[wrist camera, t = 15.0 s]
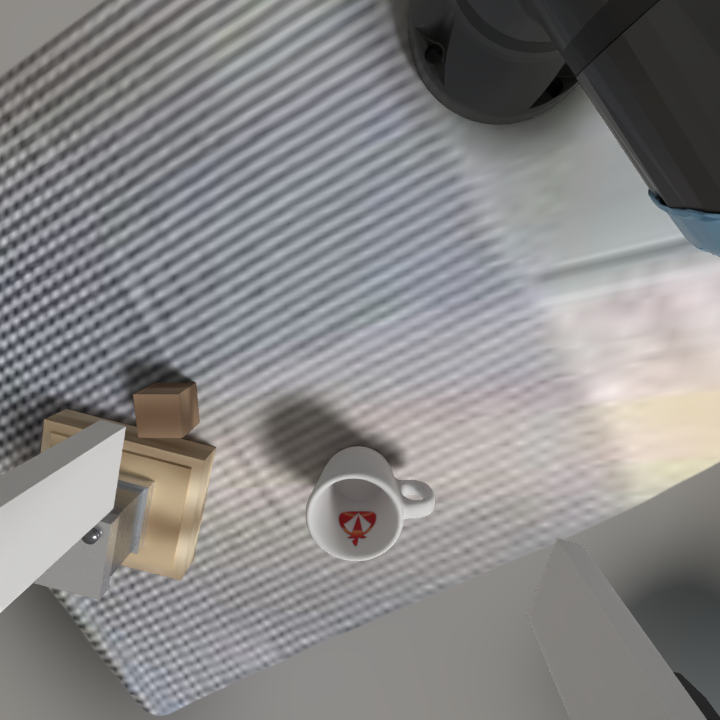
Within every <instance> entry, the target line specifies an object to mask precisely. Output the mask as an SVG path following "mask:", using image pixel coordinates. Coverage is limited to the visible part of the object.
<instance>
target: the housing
mask: <svg viewBox="0 0 720 720" xmlns="http://www.w3.org/2000/svg"><path fill="white" fill-rule="evenodd" d="M154 485H155V481H152V480H148V479H145V478H141V477H137V476H133V475H129V474H125V473H121V472H119V475H118V482H117V488H116V495H115V501H114V508H113V509H112V510H111V511H110V512H109V513H108V514H107V515H106V516H105V517H104V518H103V519H102V520H100V521H99V522H98V523H97V524H96V525H95V526H94V527H93V528H92V529H91V530H90V531H89V532H87V533H86V534H85V535H84V536H83V537H82V538H81V539H80V540H79V541H78V542H77V543H76V544H74V545H73V546H72V547H71V548H70V549H69V550H68V551H67V552H66V553H65V554H64V555H62V556H61V557H60V558H59V559H58V560H57V561H56V562H55V563H54V564H53V565H52V566H51V567H49V568H48V569H47V570H46V571H45V572H44V573H43V574H42V575H41V576H40V577H39V578H37V579H36V580H35V581H34V582H33V583H35V584H39V585H44V586H47V587H51V588H55V589H59V590H63V591H67V592H71V593H75V594H78V595H82V596H86V597H90V598H94V599H98V600H99V599H100V598H101V597H102V596H103V595H104V593H105V592H106V591H107V590H108V586H109V580H110V576H111V575H112V574H113V573H114V572H115V571H116V569H117V568H118V567H119V566H120V565H121V564H122V562H123V561H124V560H125V559H126V558H127V557H128V555H129V554H130V553H134V554H138V553H139V551H140V550H141V549H142V548H143V547H144V542H145V537H146V531H147V525H148V519H149V514H150V508H151V502H152V496H153V491H154Z"/></svg>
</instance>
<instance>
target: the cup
mask: <svg viewBox="0 0 720 720" xmlns="http://www.w3.org/2000/svg"><path fill="white" fill-rule="evenodd" d="M410 494H414V495H419V496H421V497H422V498H423V500H410V499H408V498H406V497H404V496H406V495H410ZM434 505H435V497H434V493H433V491H432V489H431V488H430V487H429V486H428V485H427V484H426V483H424V482H421V481H416V480H398V479H396V478H395V477H394V475H393V472H392V469H391V467H390V465H389V464H388V462H387V461H386V459H385V458H384V457H383V456H382V455H381V454H379V453H378V452H376V451H375V450H373V449H370V448H367V447H362V446H354V447H349V448H345V449H343V450H341V451H339V452H338V453H336V454H335V455H334V456H333V457H332V458H331V459H330V460H329V462H328V463H327V465H326V466H325V468H324V470H323V472H322V474H321V476H320V478H319V479H318V481H317V483H316V485H315V487H314V489H313V491H312V493H311V495H310V497H309V499H308V502H307V506H306V523H307V527H308V530H309V532H310V534H311V536H312V538H313V539H314V541H315V542H316V543H317V544H318V546H320V547H321V548H322V549H323V550H324V551H325V552H327V553H329V554H330V555H332V556H334V557H337V558H340V559H343V560H349V561H363V560H368V559H372V558H375V557H377V556H379V555H381V554H383V553H384V552H386V551H387V550H388V549H389V548H390V547H391V546H392V545H393V544H394V543H395V542H396V540H397V539H398V537H399V535H400V533H401V530H402V526H403V520H405V519H409V518H420V517H424V516H427V515H429V514H430V513H431V512H432V511H433V509H434Z"/></svg>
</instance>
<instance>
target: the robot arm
mask: <svg viewBox="0 0 720 720" xmlns="http://www.w3.org/2000/svg"><path fill="white" fill-rule="evenodd" d="M408 35H409V43H410V48H411V52H412V56H413V59H414V62H415V65H416V67H417V70H418V72H419V74H420V76H421V78H422V80H423V81H424V83H425V85H426V86H427V87H428V89H429V90H430V91H431V93H432V94H433V95H434V96H435V97H436V98H437V99H438V100H439V101H440V102H441V103H442V104H443V105H444V106H446V107H447V108H449V109H450V110H451V111H453V112H455V113H456V114H458V115H460V116H462V117H465V118H467V119H470V120H473V121H476V122H480V123H486V124H509V123H515V122H520V121H523V120H526V119H529V118H532V117H534V116H537V115H539V114H541V113H543V112H545V111H546V110H548V109H549V108H551V107H552V106H554V105H555V104H557V103H558V102H559V101H560V100H561V99H563V98H564V97H565V96H566V95H567V94H568V93H569V92H570V91H572V90H573V89H574V88H575V87H576V86H577V85H578V84H580V85H581V87H582V88H583V90H584V91H585V93H586V94H587V96H588V97H589V99H590V100H591V102H592V103H593V105H594V106H595V108H596V109H597V111H598V112H599V114H600V115H601V117H602V118H603V120H604V121H605V123H606V124H607V126H608V127H609V129H610V130H611V132H612V133H613V135H614V136H615V138H616V139H617V141H618V142H619V144H620V145H621V147H622V149H623V150H624V152H625V153H626V155H627V156H628V158H629V159H630V161H631V162H632V164H633V165H634V167H635V168H636V170H637V171H638V173H639V174H640V176H641V177H642V179H643V180H644V182H645V183H646V185H647V186H648V188H649V191H648V194H649V196H650V198H651V199H652V201H653V202H654V203H655V205H656V206H657V207H659V208H660V209H662V210H664V211H665V212H667V214H668V215H669V216H670V218H671V219H672V220H673V222H674V223H675V224H676V226H677V227H678V228H679V230H680V231H681V232H682V234H683V235H684V236H685V238H686V239H687V240H688V241H689V242H690V243H691V244H692V245H694V246H695V247H696V248H698V249H700V250H701V251H705V252H709V253H711V254H713V255H717V256H719V257H720V0H410V4H409V13H408ZM125 430H126V426H123V425H119V424H115V423H111V422H107V421H103V420H99V421H97V422H96V423H94V424H92V425H90V426H89V427H87V428H85V429H83V430H81V431H80V432H78V433H76V434H74V435H72V436H71V437H69V438H67V439H65V440H64V441H62V442H60V443H58V444H56V445H55V446H53V447H51V448H49V449H48V450H46V451H44V452H42V453H40V454H39V455H37V456H35V457H33V458H31V459H30V460H28V461H26V462H24V463H23V464H21V465H19V466H17V467H15V468H14V469H12V470H10V471H8V472H7V473H5V474H3V475H1V476H0V613H1V612H2V611H3V610H4V609H5V608H6V607H7V606H8V605H9V604H10V603H11V602H12V601H14V600H15V599H16V598H17V597H18V596H19V595H20V594H21V593H22V592H23V591H24V590H25V589H27V588H28V587H29V586H30V585H31V584H32V583H33V582H34V581H35V580H36V579H37V578H39V577H40V576H41V575H42V574H43V573H44V572H45V571H46V570H47V569H48V568H49V567H51V566H52V565H53V564H54V563H55V562H56V561H57V560H58V559H59V558H60V557H61V556H62V555H64V554H65V553H66V552H67V551H68V550H69V549H70V548H71V547H72V546H73V545H74V544H76V543H77V542H78V541H79V540H80V539H81V538H82V537H83V536H84V535H85V534H86V533H87V532H89V531H90V530H91V529H92V528H93V527H94V526H95V525H96V524H97V523H98V522H99V521H100V520H102V519H103V518H104V517H105V516H106V515H107V514H108V513H109V512H110V511H111V510H112V509H113V508H114V501H115V495H116V488H117V482H118V475H119V469H120V462H121V456H122V449H123V443H124V436H125ZM527 618H528V620H529V622H530V625H531V627H532V629H533V632H534V634H535V637H536V639H537V642H538V644H539V646H540V649H541V651H542V654H543V656H544V659H545V661H546V663H547V666H548V668H549V670H550V673H551V675H552V678H553V680H554V683H555V685H556V687H557V690H558V692H559V695H560V697H561V700H562V702H563V704H564V707H565V709H566V712H567V714H568V716H569V719H570V720H720V717H719V715H718V714H717V713H716V711H715V710H714V709H713V707H712V706H711V705H710V703H709V702H708V701H707V699H706V698H705V697H704V696H703V695H702V694H701V693H700V692H699V691H698V690H697V689H696V688H695V687H694V686H693V685H692V684H691V683H689V682H688V681H687V680H686V679H685V678H684V677H683V676H682V675H681V674H679V673H675V672H673V671H672V670H671V669H670V667H669V666H668V664H667V663H666V662H665V660H664V659H663V657H662V656H661V655H660V653H659V652H658V650H657V649H656V648H655V646H654V645H653V643H652V642H651V641H650V639H649V638H648V637H647V635H646V634H645V632H644V631H643V630H642V628H641V627H640V625H639V624H638V623H637V621H636V620H635V618H634V617H633V616H632V614H631V613H630V611H629V610H628V609H627V607H626V606H625V604H624V603H623V602H622V600H621V599H620V597H619V596H618V595H617V593H616V592H615V590H614V589H613V588H612V586H611V585H610V583H609V582H608V581H607V579H606V578H605V576H604V575H603V574H602V572H601V571H600V569H599V568H598V567H597V565H596V564H595V562H594V561H593V560H592V558H591V557H590V555H589V554H588V553H587V551H586V550H585V548H584V547H583V546H582V545H580V544H576V543H572V542H569V541H565V540H561V539H557V540H556V543H555V545H554V548H553V550H552V553H551V555H550V558H549V560H548V563H547V565H546V568H545V571H544V573H543V575H542V578H541V580H540V583H539V585H538V588H537V590H536V593H535V595H534V598H533V600H532V603H531V605H530V608H529V610H528V613H527Z"/></svg>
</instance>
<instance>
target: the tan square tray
mask: <svg viewBox="0 0 720 720" xmlns="http://www.w3.org/2000/svg"><path fill="white" fill-rule="evenodd" d="M99 420H103V421H107V422H111V423H115V424H119V425H123V426H126V430H125V436H124V443H123V449H122V456H121V462H120V469H119V472H121V473H125V474H129V475H133V476H137V477H141V478H145V479H148V480H152V481H155V485H154V491H153V496H152V502H151V508H150V514H149V519H148V525H147V531H146V537H145V542H144V547H143V548H142V549H141V550H140V551H139V553H138V554H134V553H130V554H129V555H128V557H127V558H126V559H125V560H124V561H123V562H122V564H121V565H123V566H127V567H131V568H135V569H139V570H143V571H147V572H150V573H154V574H158V575H162V576H166V577H170V578H174V579H178V580H181V579H182V578H183V576H184V574H185V573H186V571H187V570H188V568H189V566H190V565H191V563H192V562H193V559H194V554H195V549H196V544H197V539H198V534H199V530H200V525H201V520H202V515H203V510H204V505H205V500H206V495H207V490H208V485H209V480H210V475H211V470H212V465H213V460H214V455H215V450H216V448H215V447H212V446H208V445H204V444H200V443H196V442H192V441H188V440H185V439H181V438H138V432H137V427H135V426H131V425H127V424H123V423H119V422H115V421H112V420H108V419H104V418H100V417H96V416H92V415H89V414H85V413H81V412H77V411H73V410H69V409H65V410H63V411H61V412H59V413H57V414H54V415H52V416H50V417H48V418H46V419H44V426H43V435H42V444H41V453H42V452H44V451H46V450H48V449H49V448H51V447H53V446H55V445H56V444H58V443H60V442H62V441H64V440H65V439H67V438H69V437H71V436H72V435H74V434H76V433H78V432H80V431H81V430H83V429H85V428H87V427H89V426H90V425H92V424H94V423H96V422H97V421H99Z"/></svg>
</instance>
